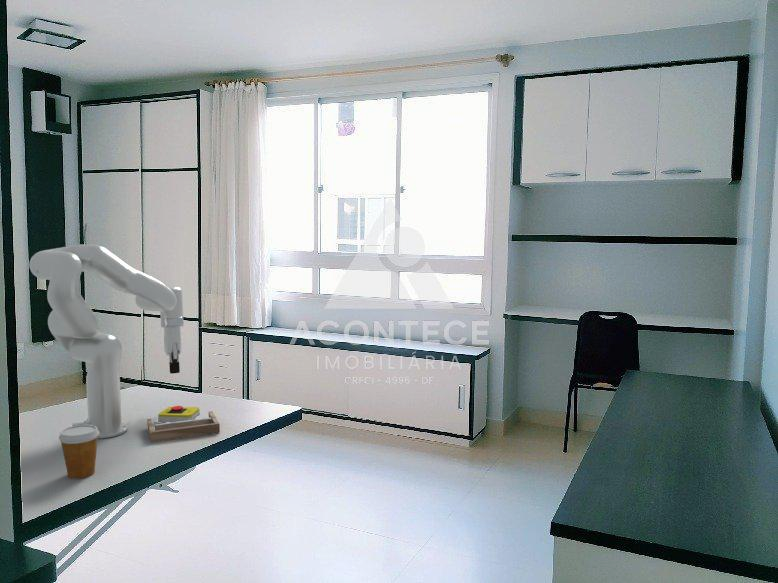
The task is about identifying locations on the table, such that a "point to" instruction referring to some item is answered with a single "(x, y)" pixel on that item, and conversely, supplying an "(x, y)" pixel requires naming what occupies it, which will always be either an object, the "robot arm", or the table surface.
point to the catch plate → (182, 424)
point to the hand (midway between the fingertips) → (174, 372)
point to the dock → (183, 430)
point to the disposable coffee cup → (79, 450)
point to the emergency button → (178, 414)
